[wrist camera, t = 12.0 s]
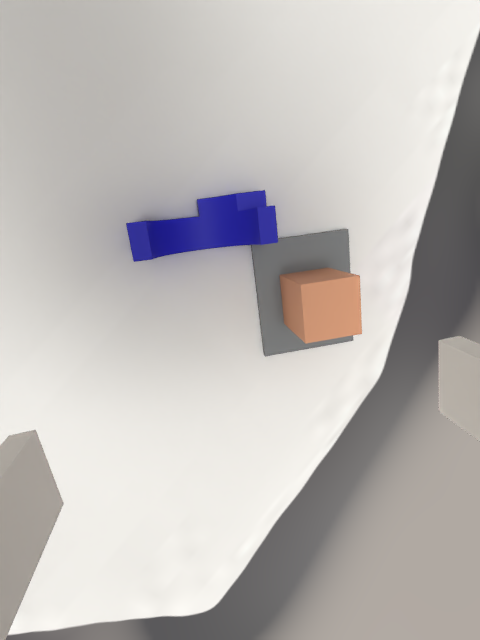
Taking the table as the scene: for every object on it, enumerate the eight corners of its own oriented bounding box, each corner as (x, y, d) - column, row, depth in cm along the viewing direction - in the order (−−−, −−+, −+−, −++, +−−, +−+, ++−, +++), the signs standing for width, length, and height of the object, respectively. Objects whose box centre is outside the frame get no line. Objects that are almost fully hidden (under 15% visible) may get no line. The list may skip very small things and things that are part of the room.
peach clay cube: (279, 274, 36) (300, 284, 29) (328, 267, 36) (359, 275, 30) (284, 323, 37) (305, 343, 31) (331, 315, 38) (361, 333, 31)
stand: (250, 242, 35) (263, 244, 29) (345, 229, 36) (376, 228, 30) (264, 354, 38) (278, 376, 32) (350, 338, 39) (379, 357, 34)
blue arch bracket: (258, 193, 34) (273, 186, 28) (262, 240, 35) (278, 242, 30) (132, 208, 33) (122, 203, 27) (142, 256, 34) (133, 261, 28)
